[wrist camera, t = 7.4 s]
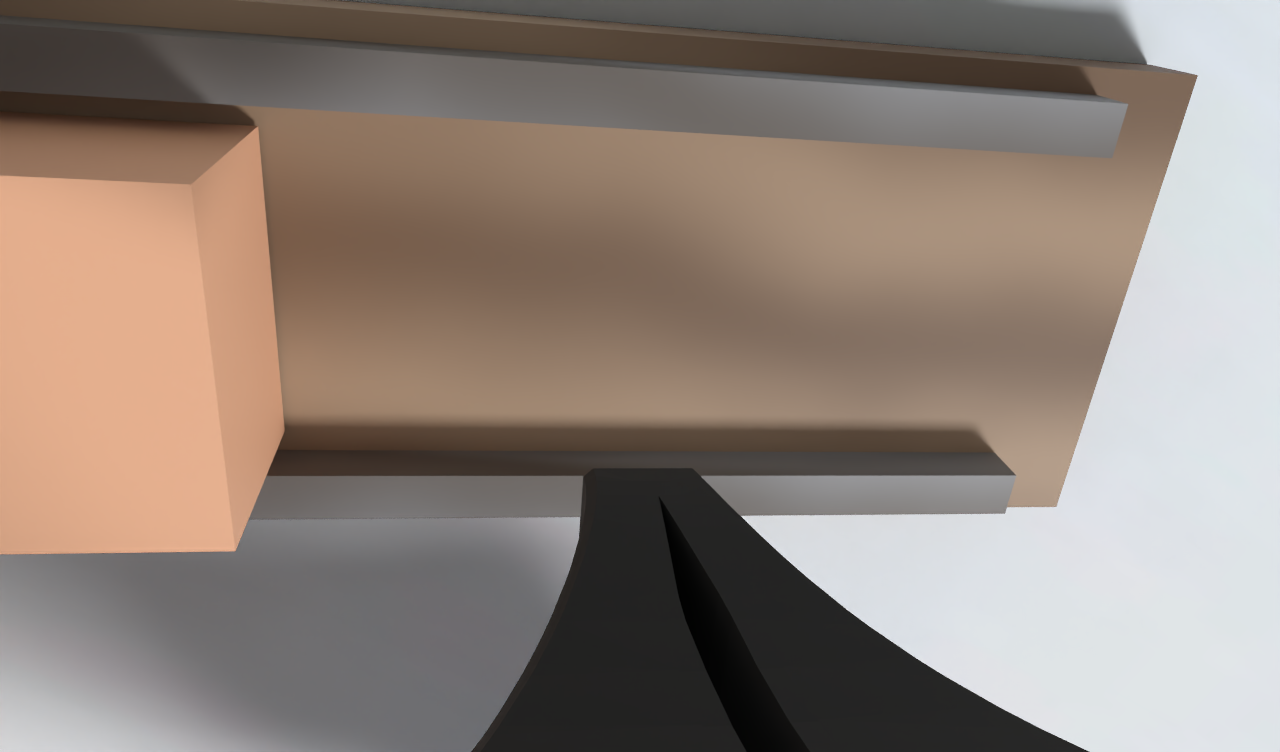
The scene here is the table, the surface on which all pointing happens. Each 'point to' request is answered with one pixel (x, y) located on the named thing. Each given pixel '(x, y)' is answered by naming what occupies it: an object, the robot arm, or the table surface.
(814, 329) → the keeper track
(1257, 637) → the table surface
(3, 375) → the block
